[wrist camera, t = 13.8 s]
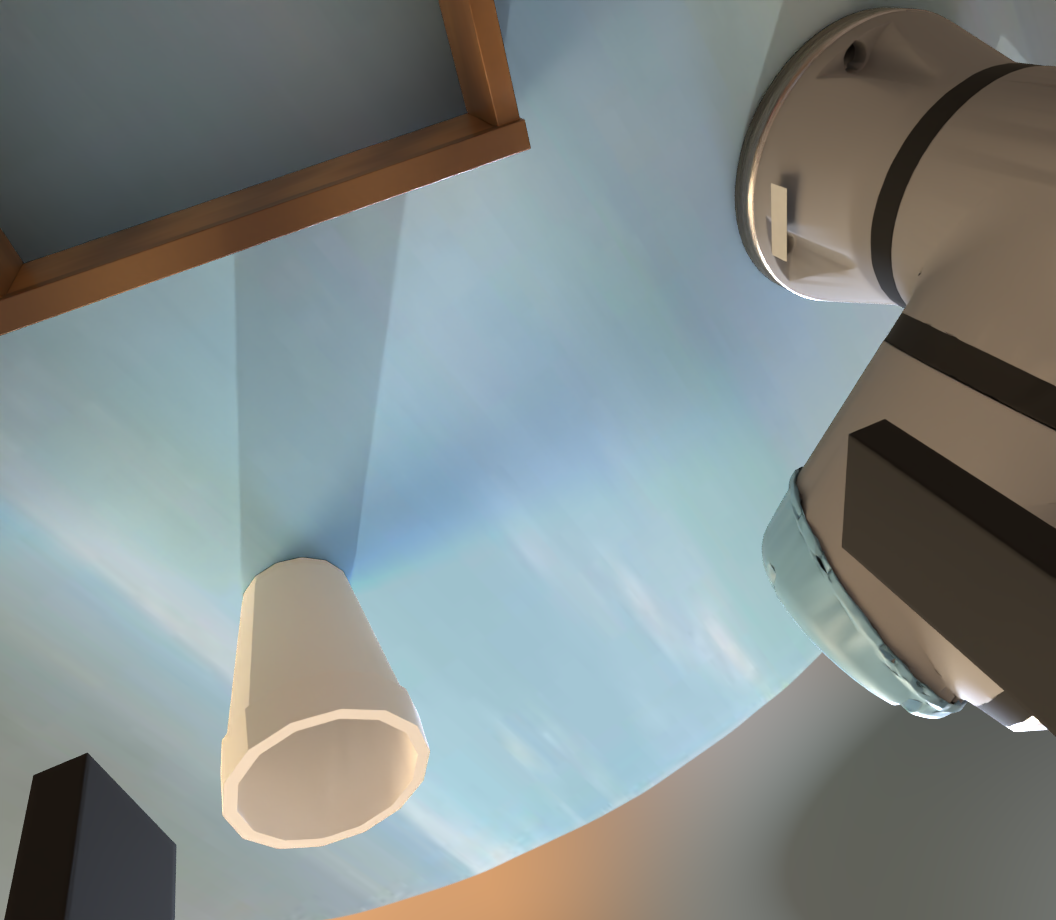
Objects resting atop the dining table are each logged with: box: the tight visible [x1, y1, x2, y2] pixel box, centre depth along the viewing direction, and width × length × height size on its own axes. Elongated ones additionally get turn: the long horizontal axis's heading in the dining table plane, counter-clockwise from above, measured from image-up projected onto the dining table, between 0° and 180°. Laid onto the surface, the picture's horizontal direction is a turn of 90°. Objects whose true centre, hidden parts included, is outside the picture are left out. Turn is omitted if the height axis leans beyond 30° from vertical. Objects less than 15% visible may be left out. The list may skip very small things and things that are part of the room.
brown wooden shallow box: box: [0, 0, 531, 336], centre depth 28 cm, size 22×15×5 cm
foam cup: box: [221, 557, 430, 849], centre depth 40 cm, size 10×9×13 cm
